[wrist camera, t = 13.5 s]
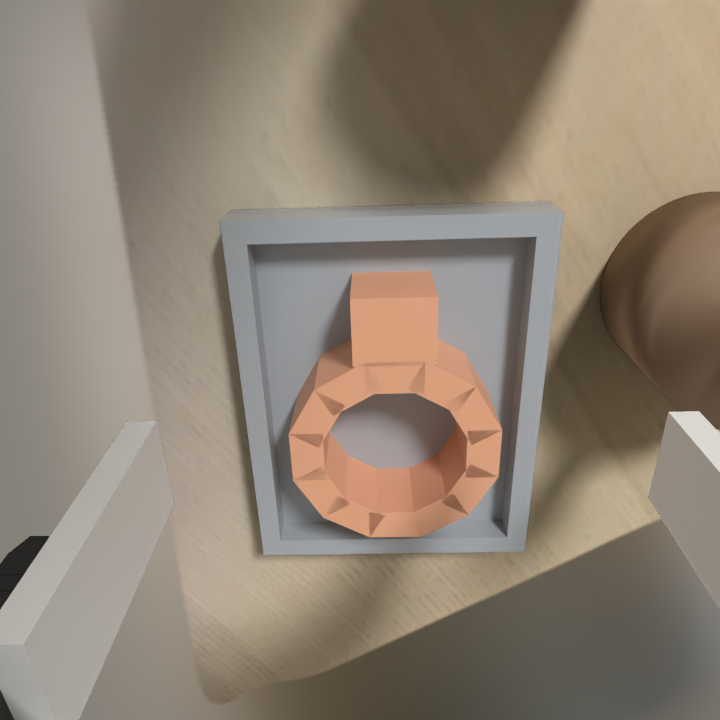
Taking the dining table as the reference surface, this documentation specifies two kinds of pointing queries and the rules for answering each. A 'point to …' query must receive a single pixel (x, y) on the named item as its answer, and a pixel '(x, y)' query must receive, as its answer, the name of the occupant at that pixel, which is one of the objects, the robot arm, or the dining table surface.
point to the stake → (671, 301)
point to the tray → (403, 410)
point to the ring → (392, 376)
